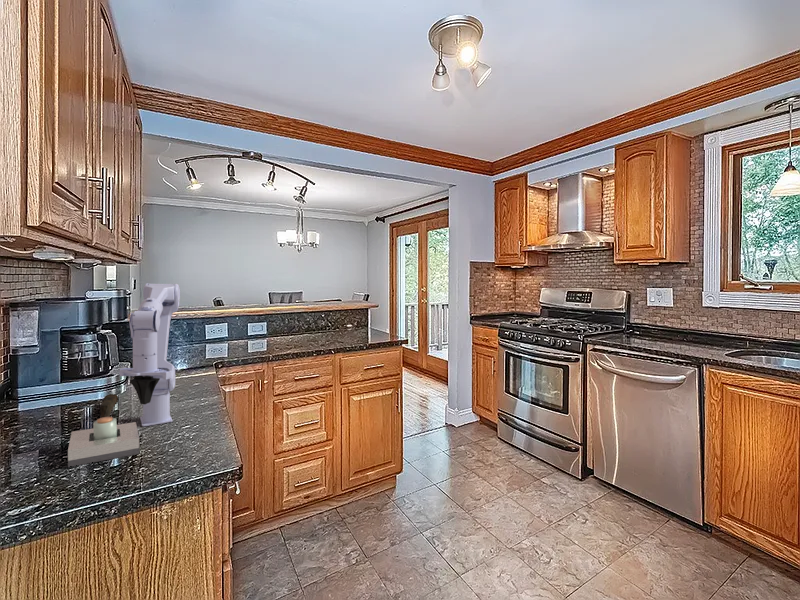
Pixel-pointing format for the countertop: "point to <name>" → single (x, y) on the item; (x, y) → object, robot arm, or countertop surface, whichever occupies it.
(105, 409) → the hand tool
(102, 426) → the cylinder with orange cap
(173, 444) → the countertop surface
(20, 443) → the countertop surface
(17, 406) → the countertop surface
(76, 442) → the beige square slab
